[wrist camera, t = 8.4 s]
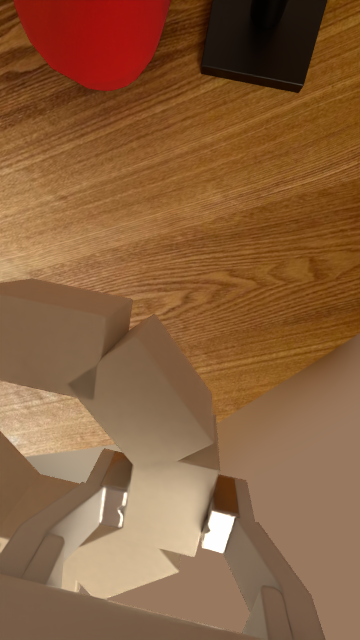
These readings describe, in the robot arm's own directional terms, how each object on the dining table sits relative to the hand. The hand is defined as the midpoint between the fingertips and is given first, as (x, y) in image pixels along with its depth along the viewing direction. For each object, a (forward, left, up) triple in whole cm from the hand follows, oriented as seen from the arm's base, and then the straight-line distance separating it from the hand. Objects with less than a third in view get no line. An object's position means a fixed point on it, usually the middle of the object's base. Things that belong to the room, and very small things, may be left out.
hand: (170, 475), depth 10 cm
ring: (+5, 0, -2) cm, 5 cm away
